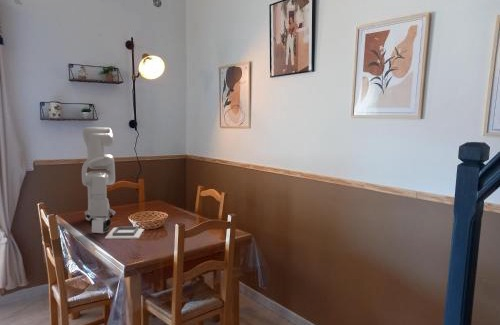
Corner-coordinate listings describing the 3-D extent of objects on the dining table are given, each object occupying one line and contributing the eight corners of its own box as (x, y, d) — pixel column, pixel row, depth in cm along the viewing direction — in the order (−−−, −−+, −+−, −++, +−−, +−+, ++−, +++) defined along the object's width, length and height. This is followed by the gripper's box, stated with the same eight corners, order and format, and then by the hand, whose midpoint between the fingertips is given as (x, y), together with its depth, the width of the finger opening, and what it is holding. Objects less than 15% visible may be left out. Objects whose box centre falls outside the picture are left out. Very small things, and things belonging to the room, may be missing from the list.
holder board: (114, 228, 205) (113, 225, 205) (144, 228, 207) (144, 224, 207) (104, 238, 187) (104, 234, 187) (138, 238, 190) (138, 234, 189)
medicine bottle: (103, 233, 194) (103, 212, 194) (91, 232, 195) (92, 211, 195) (109, 230, 201) (110, 210, 201) (98, 229, 202) (99, 209, 202)
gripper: (81, 197, 191) (82, 227, 193) (113, 197, 193) (114, 227, 195) (86, 195, 199) (86, 224, 200) (117, 195, 201) (117, 223, 202)
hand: (100, 225), depth 198 cm, fingers open, 8 cm apart
